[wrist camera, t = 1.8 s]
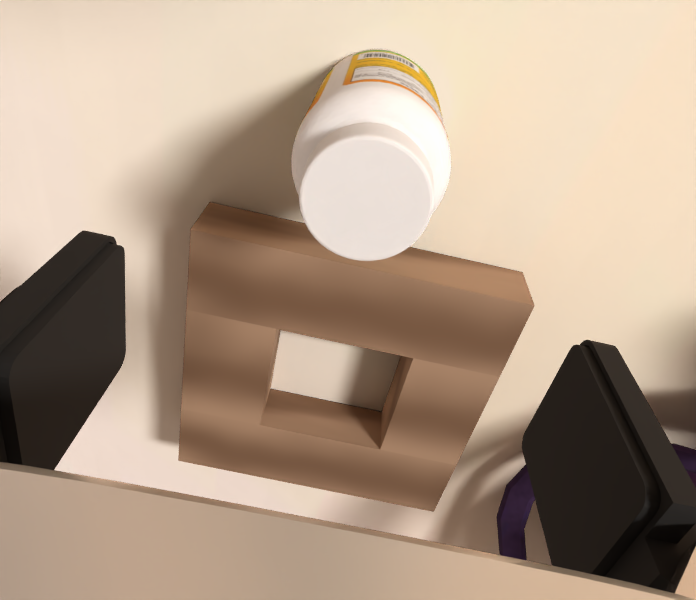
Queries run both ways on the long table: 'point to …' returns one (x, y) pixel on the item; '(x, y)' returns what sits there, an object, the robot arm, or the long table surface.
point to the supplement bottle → (371, 156)
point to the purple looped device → (522, 498)
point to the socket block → (344, 327)
